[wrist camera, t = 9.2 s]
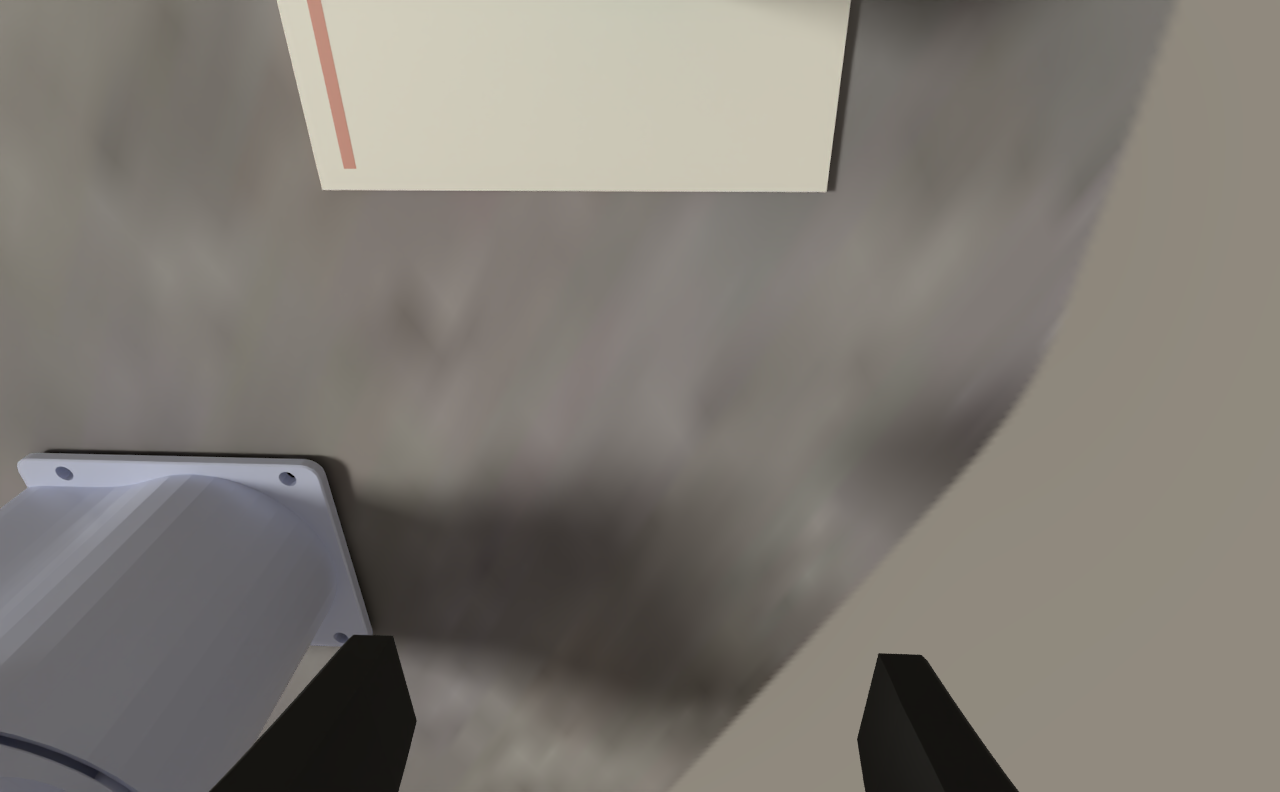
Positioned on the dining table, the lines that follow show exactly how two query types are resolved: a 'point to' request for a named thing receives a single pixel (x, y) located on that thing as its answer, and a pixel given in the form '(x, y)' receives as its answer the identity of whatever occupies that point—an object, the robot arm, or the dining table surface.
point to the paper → (569, 93)
